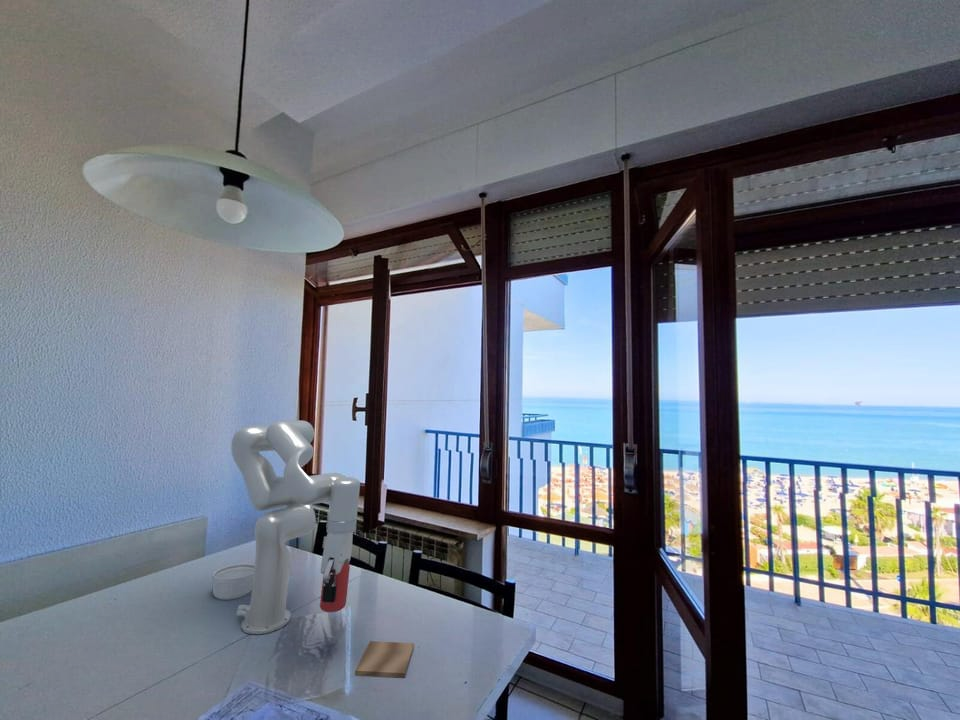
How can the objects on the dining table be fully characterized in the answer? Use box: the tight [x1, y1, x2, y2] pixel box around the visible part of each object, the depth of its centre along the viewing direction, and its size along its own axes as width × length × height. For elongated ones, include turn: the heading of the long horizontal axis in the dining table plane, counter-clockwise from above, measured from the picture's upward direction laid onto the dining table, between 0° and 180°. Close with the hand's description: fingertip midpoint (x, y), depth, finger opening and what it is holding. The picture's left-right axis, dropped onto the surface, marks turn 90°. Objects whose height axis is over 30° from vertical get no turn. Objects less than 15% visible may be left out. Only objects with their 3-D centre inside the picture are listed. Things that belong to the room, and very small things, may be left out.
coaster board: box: [354, 640, 415, 679], centre depth 97 cm, size 12×12×1 cm
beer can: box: [319, 559, 351, 613], centre depth 102 cm, size 7×7×12 cm
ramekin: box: [212, 562, 255, 601], centre depth 129 cm, size 13×13×7 cm
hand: (334, 594), depth 102 cm, fingers closed on beer can, 6 cm apart
